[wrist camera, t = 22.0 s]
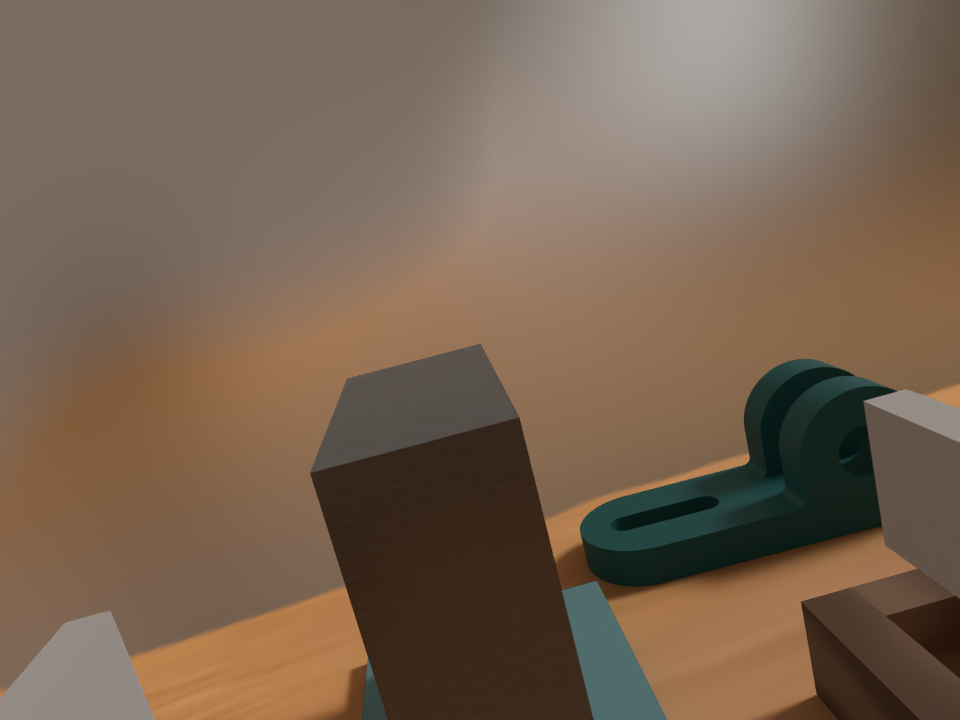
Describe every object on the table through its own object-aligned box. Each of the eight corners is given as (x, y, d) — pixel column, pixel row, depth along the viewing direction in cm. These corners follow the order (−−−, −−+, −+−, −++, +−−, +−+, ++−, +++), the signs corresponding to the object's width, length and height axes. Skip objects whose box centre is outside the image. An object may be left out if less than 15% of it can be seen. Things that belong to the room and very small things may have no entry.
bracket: (863, 469, 45) (846, 346, 43) (938, 514, 38) (920, 371, 37) (577, 544, 45) (549, 423, 43) (603, 602, 38) (571, 461, 37)
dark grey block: (550, 622, 35) (480, 344, 32) (619, 826, 24) (519, 417, 21) (428, 656, 35) (347, 378, 32) (437, 878, 23) (310, 473, 20)
